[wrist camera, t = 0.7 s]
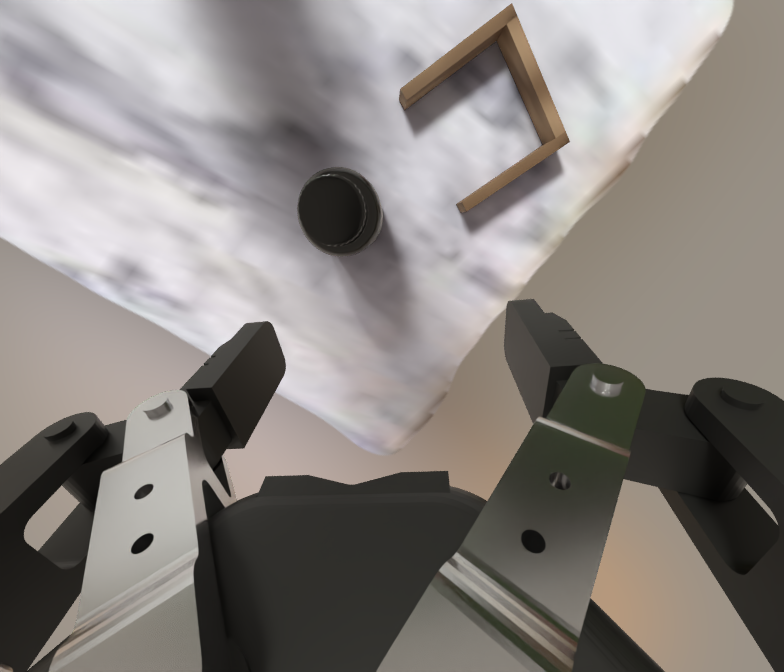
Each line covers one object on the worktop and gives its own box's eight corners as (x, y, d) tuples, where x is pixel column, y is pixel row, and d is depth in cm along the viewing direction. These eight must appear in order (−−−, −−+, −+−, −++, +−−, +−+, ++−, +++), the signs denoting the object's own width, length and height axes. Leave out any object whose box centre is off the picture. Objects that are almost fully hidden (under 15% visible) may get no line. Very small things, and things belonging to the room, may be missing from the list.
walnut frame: (398, 100, 31) (400, 89, 28) (501, 22, 29) (511, 3, 27) (460, 212, 34) (466, 211, 32) (556, 148, 32) (569, 141, 30)
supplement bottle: (350, 166, 32) (332, 130, 21) (396, 219, 34) (403, 213, 23) (303, 215, 34) (262, 208, 22) (350, 264, 35) (334, 280, 24)
